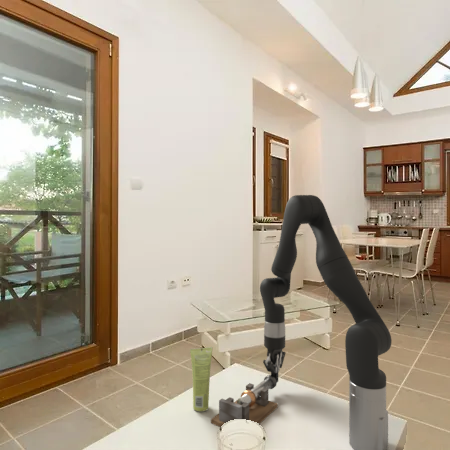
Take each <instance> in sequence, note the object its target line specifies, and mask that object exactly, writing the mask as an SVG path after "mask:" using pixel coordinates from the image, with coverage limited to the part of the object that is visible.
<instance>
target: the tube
mask: <svg viewBox="0 0 450 450" xmlns="http://www.w3.org/2000/svg"><path fill="white" fill-rule="evenodd" d="M213 348H214V347H212V346H211V347H203V348H202V347H200V348H199V347H198V348H190V349H189V354H190V361H191V371H192V372H191V374H192V400H193V401H192V408H193V410H194V411H196V412H206V411H207V410H209V401H210V395H209V394H210V380H211V379H210V378H211V376H210V375H211V366H212V365H211V364H212V356H213Z"/></svg>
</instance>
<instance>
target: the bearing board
mask: <svg viewBox="0 0 450 450" xmlns="http://www.w3.org/2000/svg"><path fill="white" fill-rule="evenodd" d="M254 387H255V384H253V383H250V382H249V383H248V384H246V385H245V391H246V390H251V389H253V388H254ZM277 408H278V403H277V402H274V401H271V400H269V390H268V389H267V388H263V389H262V390H261V396H260V397H259V398H257V399H256V403H255V404H254V405H253V406H252V407H249V404H247V403H243V404H242V405H239V404H237V400H235V399H234V398H233V397H230V396H229V397H228V398H226V399H224V398H221V399H219V400H218V414H216V415H214V416H213V417H212V418H211V419H210V423H211V424H212V425H214V426H217V427H220V428H222V427H221V426H222V425H223V424H224V423H226V422H228V421H230V420H234V419H246V420H251V421H254V422H257V423H259V425H260V424H261V423H262V422H263V421H264V420H265V419H266V418H267V417H269V416H270V415H271V414H272V413H273V412H274V411H275V410H276V409H277Z"/></svg>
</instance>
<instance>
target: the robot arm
mask: <svg viewBox="0 0 450 450" xmlns="http://www.w3.org/2000/svg"><path fill="white" fill-rule="evenodd" d="M282 220H283V221H282V226H281V231H280V237H279V243H278V248H277V251H276V254H275V256H274V259H273V262H272V265H271V269H270V270H271V271H270V272H272V275H274V276H276V277H269V278H267V277H266V278H264V279H262V281H261V282H260V285H259V292H260V296H261V299H262V304H263V306H264V307H263V308H264V324H263V325H264V326H263V327H264V328H263V332H264V333H263V338H264V339H263V345H264V347H265V348H266V351H267V352H266V359H263V360H262V362H263V363H262V364H263V365H264V367H265V369H266V371H267V373H268V372H269V373H270V375H272V376H274V377H275V379H276V382H277V383H278V382H279V372H280V369H282V367H283V364H284V360H285V357H286V352H285V351H284V349H285V348H286V325H285V324H286V323H285V319H286V318H285V317H286V315H285V314H286V313H285V311H286V310H285V307H284V305H283V304H280V303H276V302H275V299H276V298H283V297H285V296H287V295H288V294H289V292H290V290H291V279H292V271H293V269H294V268H295V267H294V266H295V265H296V264H295V263H296V261H297V257H298V250H297V248H298V247H297V243H296V237H297V234H298V231H299V228H300V227H301V225H307V224H308V225H309V228H310V230H312V233H313V234H314V238H315V241H316V244H315V246H316V248H315V263H316V268H317V269H318V272H319V274H320V276H321V278H322V280H323V282H324V284H325V286H326V287H327V288H328V289H329V291H331V292H332V293H333V295H334V296H336V297H337V298H338V300H339V301H341V302H342V304H344V306H345V308H347V309H348V311H349V312H350V314H351V316H352V318H353V321H354V323H355V324H353V325H351V326H349V327H348V329H347V331H346V334H345V339H344V340H345V343H344V344H345V348H344V349H345V363H346V369H347V373H348V374H349V384H348V385H349V388H348V389H349V391H348V392H349V395H348V396H349V397H348V399H349V403H348V404H349V409H348V410H349V418H348V419H349V423H348V424H349V426H348V427H349V431H348V432H349V433H348V437H349V441H348V442H349V445H350V446H351V448H352V449H353V450H388V446H389V411H388V410H387V374H386V373H385V372H384V371H383V370H381V369H380V368H379V356H381V355H383V354H385V353H388V351H390V349H391V347H392V336H391V333H390V329H389V328H388V326H387V325H386V324H385V322H384V320H383V319H382V316H380V314H379V313H378V311H377V310H376V308H375V306H374V304H373V303H372V300H370V298H369V297H368V294H367V292H366V290H365V288H364V287H363V285H362V283H361V281H360V279H359V277H358V276H357V274H356V271H355V269H354V266H353V264H352V263H351V261H350V259H349V257H348V255H347V254H346V251H345V250H344V248H343V246H342V244H341V242H340V240H339V238H338V235H337V234H336V232H335V229H334V227H333V225H332V223H331V220H330V218H329V215H328V212H327V209H326V207H325V205H324V203H323V201H322V200H321V199H320V197H318V196H316V195H314V194H295V195H293V196H291V197H290V198H288V200H287V203H286V205H285V209H284V213H283V219H282Z"/></svg>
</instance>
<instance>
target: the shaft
mask: <svg viewBox="0 0 450 450" xmlns="http://www.w3.org/2000/svg"><path fill="white" fill-rule="evenodd" d="M277 383H278V382H276V379H275V377H274V376H272V375H271V374H268V375H267V376H265V377H264V378H263V380H262V381H261V382H260V383H259V384H257V385H256V386H254V388H253V389H251V390H246V389H245V390H244V391H243V392H242V393H241V394H240V397H239V398H237V400H236V401H237V404H239V405H242V404H243V403H247V404H249V407H252V406H253V405H254V404H255V403H256V399H257V398H259V397H261V390H262V389H263V388H267V389H268V391H269V390H273V389H274V388H276V387H277Z"/></svg>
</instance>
